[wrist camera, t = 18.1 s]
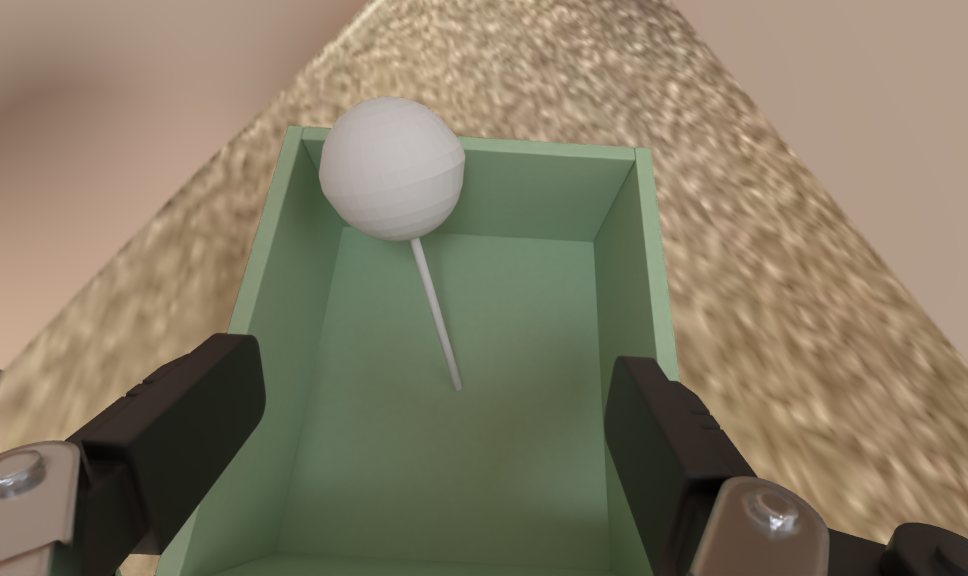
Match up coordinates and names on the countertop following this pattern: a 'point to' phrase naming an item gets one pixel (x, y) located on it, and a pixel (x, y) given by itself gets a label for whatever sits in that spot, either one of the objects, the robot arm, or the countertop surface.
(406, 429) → the bin
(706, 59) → the countertop surface
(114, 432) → the robot arm
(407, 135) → the lollipop
